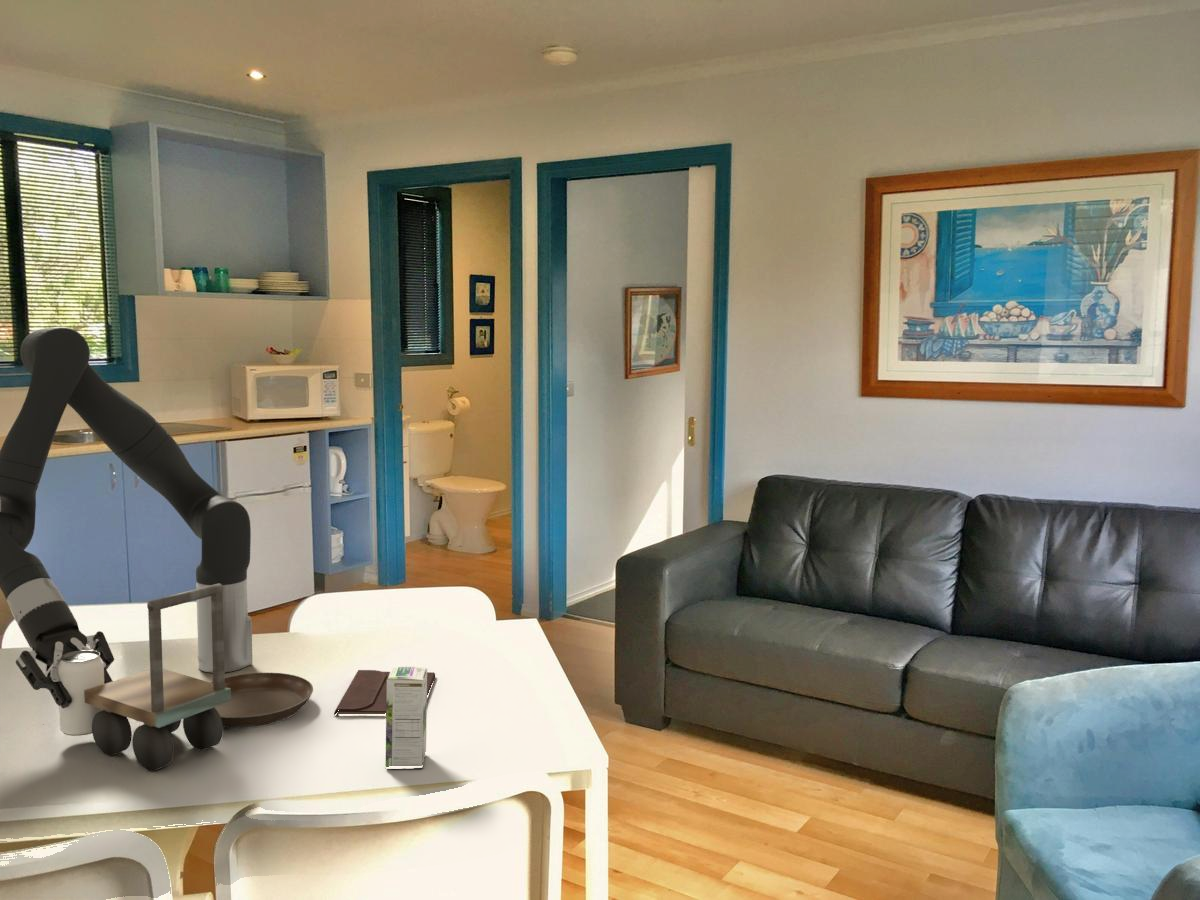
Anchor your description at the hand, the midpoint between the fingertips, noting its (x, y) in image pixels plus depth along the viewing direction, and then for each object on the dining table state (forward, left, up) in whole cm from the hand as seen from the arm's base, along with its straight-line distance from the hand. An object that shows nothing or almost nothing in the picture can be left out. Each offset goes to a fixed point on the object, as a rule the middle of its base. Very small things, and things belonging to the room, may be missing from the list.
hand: (88, 698), depth 163 cm
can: (+1, -2, -6) cm, 6 cm away
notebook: (-48, +8, -9) cm, 49 cm away
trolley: (-8, +8, -8) cm, 14 cm away
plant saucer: (-26, 0, -8) cm, 27 cm away
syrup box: (-37, +35, -8) cm, 52 cm away
